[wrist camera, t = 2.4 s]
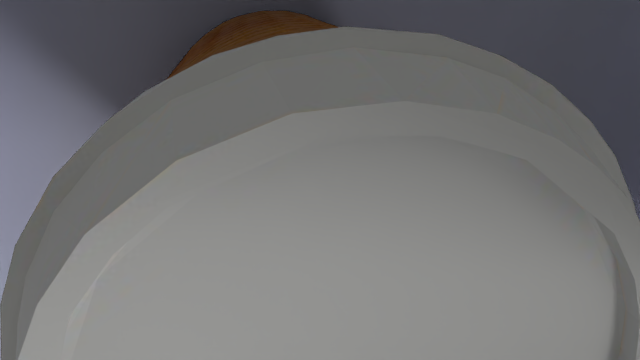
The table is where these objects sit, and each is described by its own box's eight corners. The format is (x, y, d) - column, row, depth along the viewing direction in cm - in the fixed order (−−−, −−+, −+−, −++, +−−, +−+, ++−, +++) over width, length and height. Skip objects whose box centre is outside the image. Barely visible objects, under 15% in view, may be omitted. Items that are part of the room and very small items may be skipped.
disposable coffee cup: (147, -101, 16) (23, -80, 5) (469, 7, 18) (838, 172, 8) (85, 217, 19) (-67, 631, 8) (364, 270, 22) (517, 635, 11)
